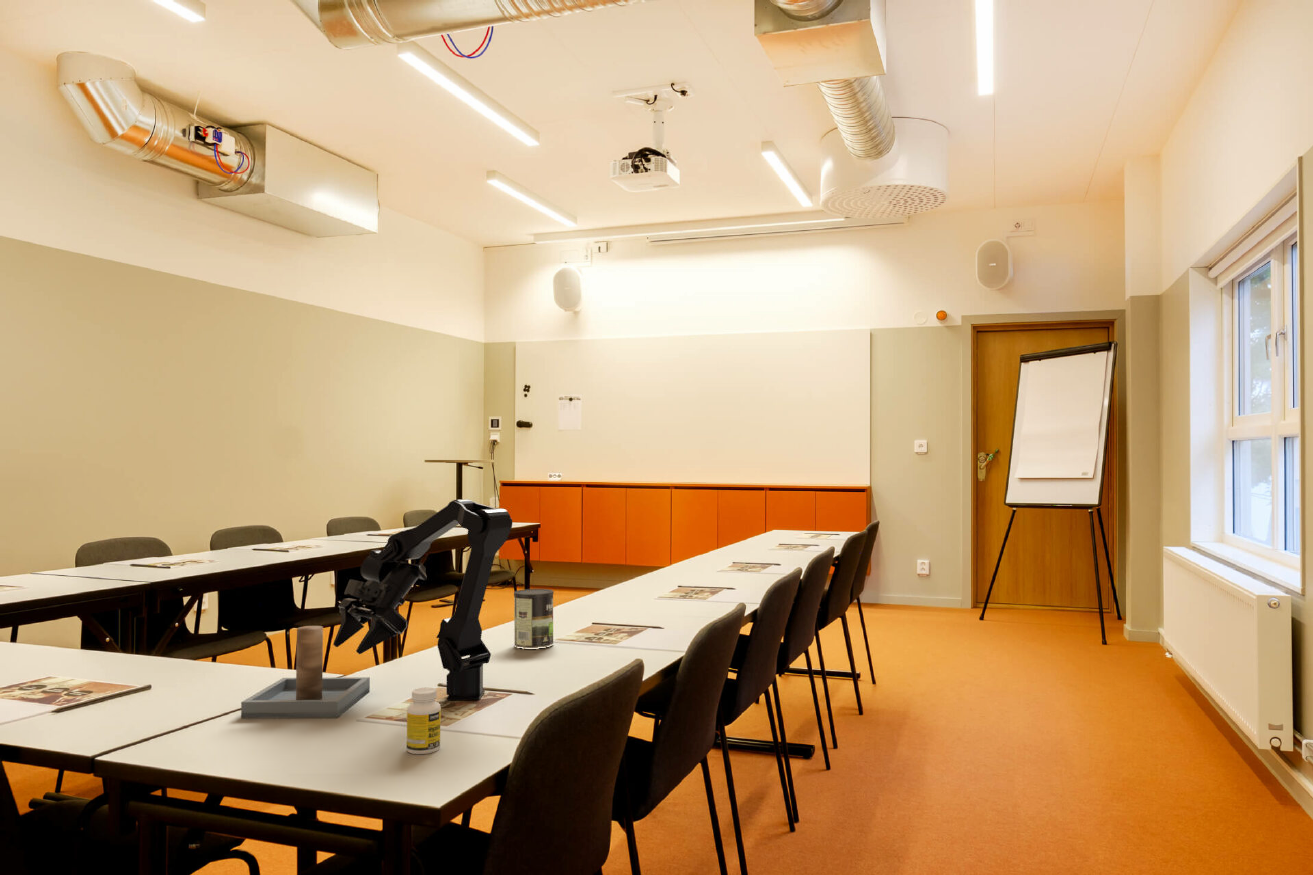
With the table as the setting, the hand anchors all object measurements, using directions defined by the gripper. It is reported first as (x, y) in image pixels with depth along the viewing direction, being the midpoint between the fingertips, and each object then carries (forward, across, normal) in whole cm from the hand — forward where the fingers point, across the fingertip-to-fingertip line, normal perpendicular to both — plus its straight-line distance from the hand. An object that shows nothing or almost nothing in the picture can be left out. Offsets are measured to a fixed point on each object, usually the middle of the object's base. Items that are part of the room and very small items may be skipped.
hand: (346, 649), depth 174 cm
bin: (+12, 0, +1) cm, 12 cm away
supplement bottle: (+12, +40, +1) cm, 42 cm away
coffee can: (-32, -8, +48) cm, 58 cm away
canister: (+12, 0, 0) cm, 12 cm away
